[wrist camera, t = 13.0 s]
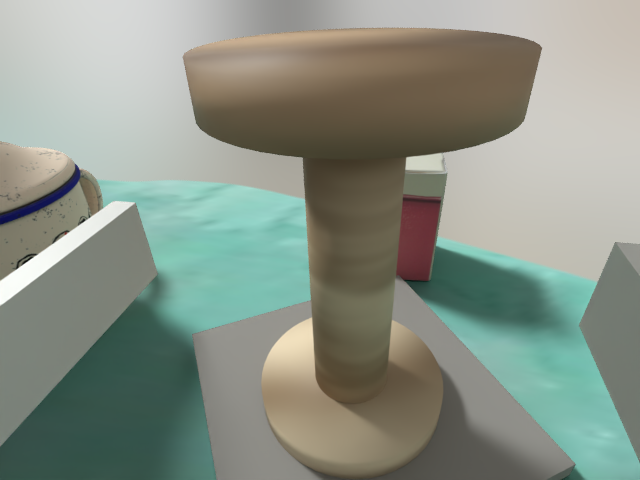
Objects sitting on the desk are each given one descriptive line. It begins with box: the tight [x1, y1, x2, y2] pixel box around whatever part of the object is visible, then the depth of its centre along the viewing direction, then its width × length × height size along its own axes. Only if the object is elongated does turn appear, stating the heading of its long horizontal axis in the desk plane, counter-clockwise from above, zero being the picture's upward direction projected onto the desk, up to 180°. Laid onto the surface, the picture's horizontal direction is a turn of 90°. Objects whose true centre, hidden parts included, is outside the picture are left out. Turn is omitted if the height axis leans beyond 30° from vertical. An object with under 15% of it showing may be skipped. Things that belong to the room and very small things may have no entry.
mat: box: [192, 275, 576, 480], centre depth 19 cm, size 13×13×1 cm
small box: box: [396, 153, 447, 281], centre depth 26 cm, size 5×4×8 cm
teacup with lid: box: [0, 141, 103, 281], centre depth 23 cm, size 12×9×12 cm
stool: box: [183, 28, 542, 479], centre depth 15 cm, size 9×9×14 cm
